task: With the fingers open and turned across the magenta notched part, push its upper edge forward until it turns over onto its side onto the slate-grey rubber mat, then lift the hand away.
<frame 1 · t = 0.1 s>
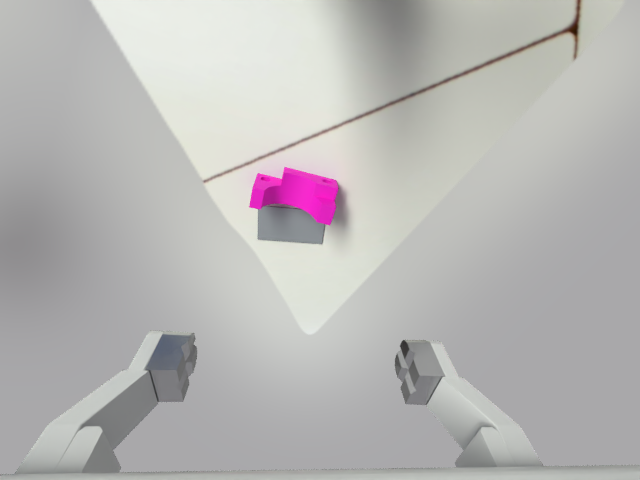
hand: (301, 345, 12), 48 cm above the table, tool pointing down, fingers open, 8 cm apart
magenta notched part: (295, 184, 59), on the table
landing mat: (291, 225, 63), on the table
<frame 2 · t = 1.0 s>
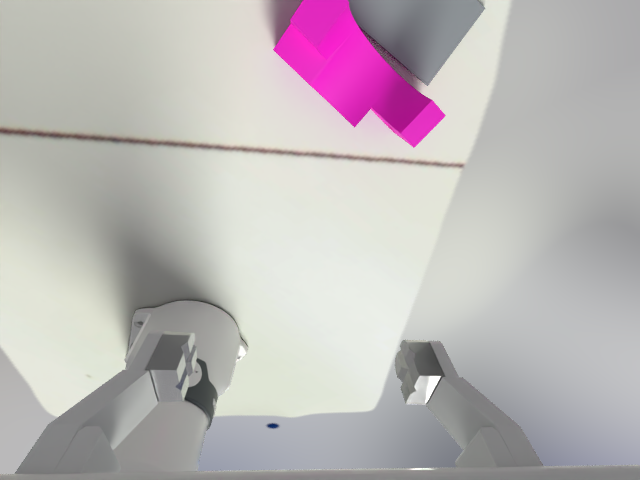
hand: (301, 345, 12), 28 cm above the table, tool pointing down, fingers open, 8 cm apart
magenta notched part: (350, 79, 32), on the table
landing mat: (403, 0, 28), on the table
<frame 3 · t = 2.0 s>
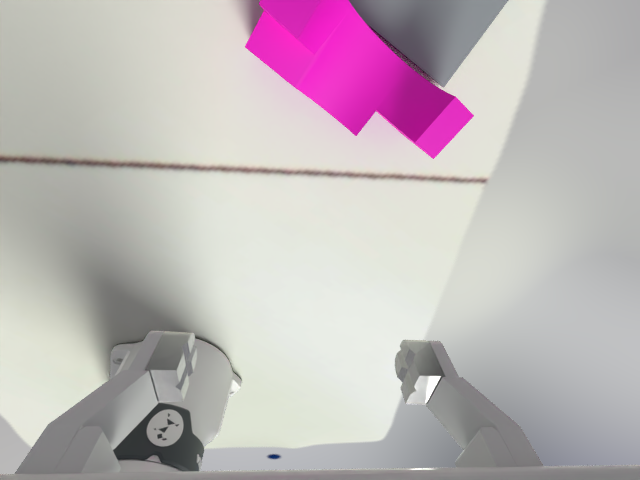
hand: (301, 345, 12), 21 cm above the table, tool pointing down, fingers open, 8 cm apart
magenta notched part: (348, 75, 26), on the table
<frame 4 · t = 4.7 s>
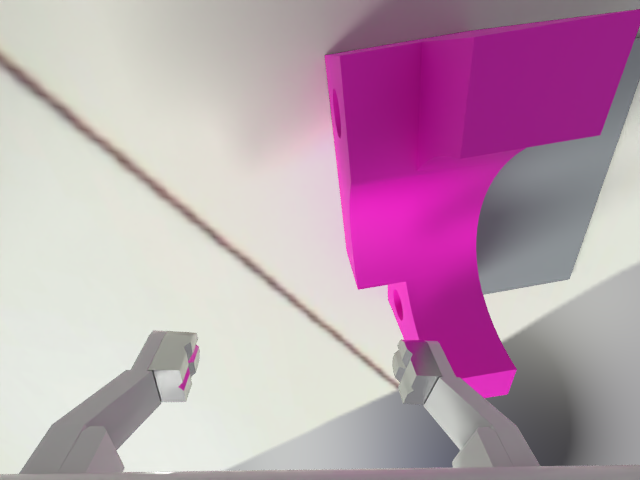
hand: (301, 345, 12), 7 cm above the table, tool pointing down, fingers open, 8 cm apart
magenta notched part: (395, 199, 17), on the table, touching gripper, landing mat
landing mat: (526, 196, 17), on the table
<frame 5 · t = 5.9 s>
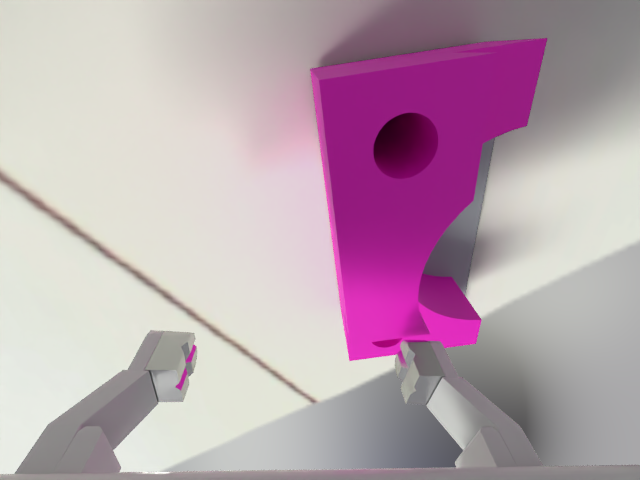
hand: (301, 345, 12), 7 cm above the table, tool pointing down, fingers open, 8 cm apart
magenta notched part: (331, 252, 14), point 3 cm above the table, touching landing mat
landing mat: (409, 226, 18), on the table
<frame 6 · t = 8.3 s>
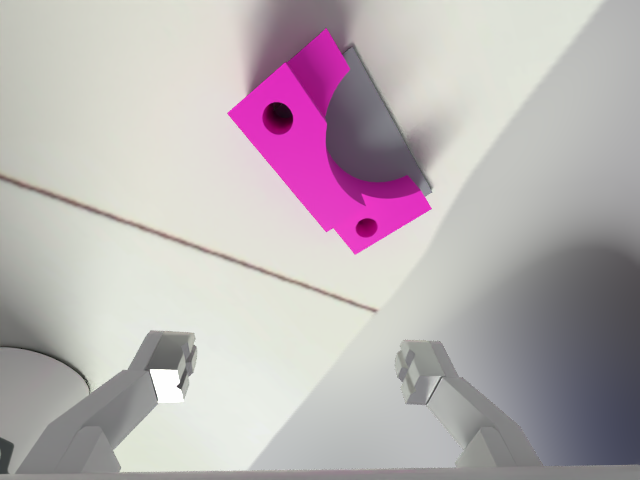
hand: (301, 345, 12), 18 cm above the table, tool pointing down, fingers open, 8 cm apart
magenta notched part: (301, 190, 24), point 3 cm above the table, touching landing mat
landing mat: (356, 155, 26), on the table
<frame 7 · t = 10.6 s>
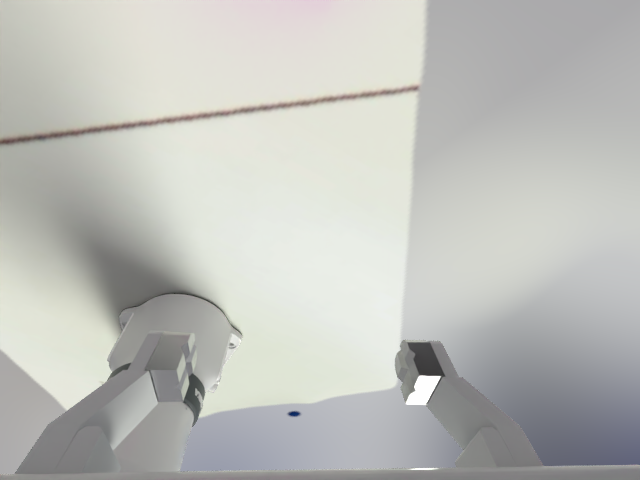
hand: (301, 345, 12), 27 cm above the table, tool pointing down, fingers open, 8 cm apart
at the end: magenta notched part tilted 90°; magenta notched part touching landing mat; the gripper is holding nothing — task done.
